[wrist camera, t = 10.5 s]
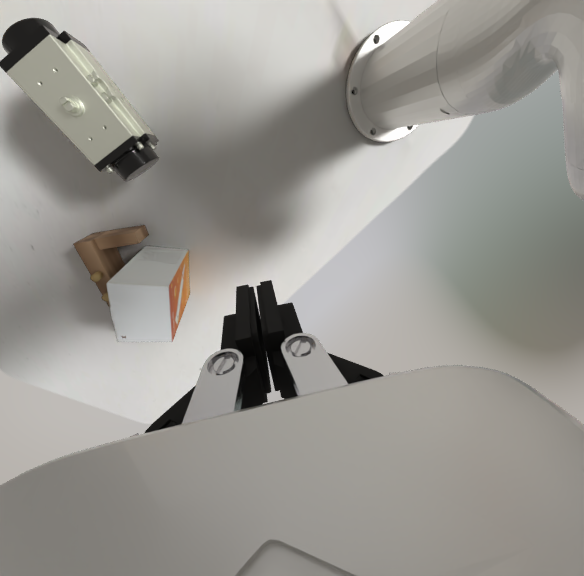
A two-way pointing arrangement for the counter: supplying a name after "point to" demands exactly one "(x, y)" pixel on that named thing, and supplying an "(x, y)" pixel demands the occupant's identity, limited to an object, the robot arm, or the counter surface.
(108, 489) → the robot arm
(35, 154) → the counter surface
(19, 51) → the pneumatic valve
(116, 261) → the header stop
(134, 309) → the small box
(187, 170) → the counter surface
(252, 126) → the counter surface
